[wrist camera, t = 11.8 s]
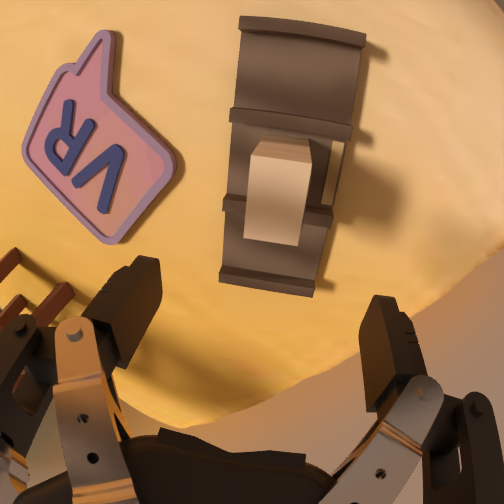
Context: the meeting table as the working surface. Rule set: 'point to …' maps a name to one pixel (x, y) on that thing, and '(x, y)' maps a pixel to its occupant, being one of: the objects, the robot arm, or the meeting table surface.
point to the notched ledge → (289, 123)
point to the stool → (17, 304)
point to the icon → (96, 146)
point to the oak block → (278, 189)
